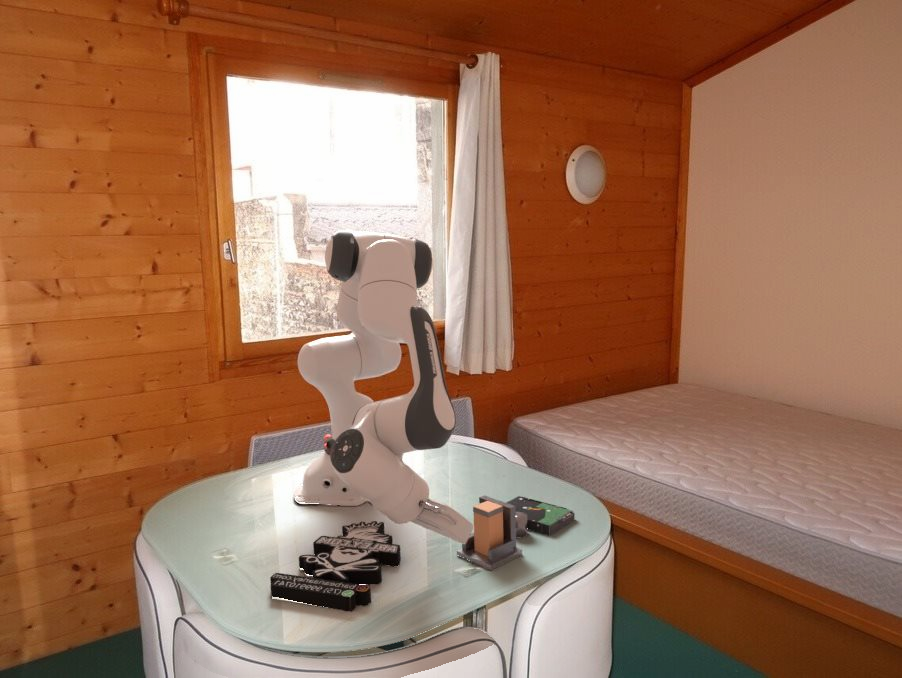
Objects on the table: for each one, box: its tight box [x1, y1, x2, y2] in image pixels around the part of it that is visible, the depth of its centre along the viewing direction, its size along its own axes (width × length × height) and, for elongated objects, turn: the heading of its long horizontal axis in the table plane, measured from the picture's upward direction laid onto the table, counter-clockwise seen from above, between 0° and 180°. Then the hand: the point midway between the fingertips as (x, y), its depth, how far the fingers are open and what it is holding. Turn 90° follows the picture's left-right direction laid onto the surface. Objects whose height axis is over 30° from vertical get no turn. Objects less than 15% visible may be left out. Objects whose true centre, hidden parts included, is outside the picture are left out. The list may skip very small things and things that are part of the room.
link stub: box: [516, 512, 528, 538], centre depth 147 cm, size 4×4×4 cm
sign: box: [269, 520, 402, 613], centre depth 135 cm, size 19×3×30 cm
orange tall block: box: [472, 501, 503, 556], centre depth 137 cm, size 4×4×9 cm
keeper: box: [456, 495, 523, 571], centre depth 138 cm, size 9×10×10 cm
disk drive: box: [505, 495, 575, 536], centre depth 154 cm, size 10×3×15 cm
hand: (446, 532), depth 129 cm, fingers open, 8 cm apart
